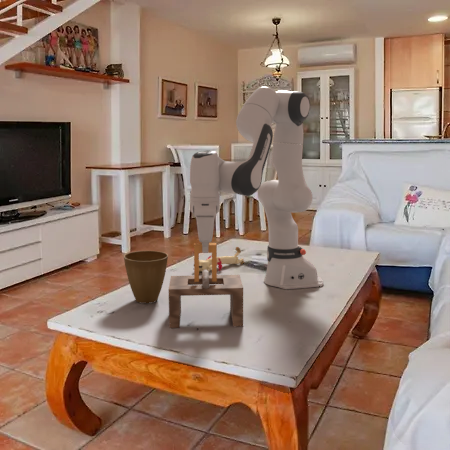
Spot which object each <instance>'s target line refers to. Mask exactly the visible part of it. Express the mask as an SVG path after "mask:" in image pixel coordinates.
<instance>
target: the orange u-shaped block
mask: <svg viewBox="0 0 450 450" xmlns="http://www.w3.org/2000/svg"><path fill="white" fill-rule="evenodd" d="M217 244H218V243H216V242H209V246H208V253H207V254H211V255H212V256H211V258H212V270H211V275H212V282H217V275H218V272H217V271H218V269H217V268H218V265H217V257H218V256H217V253H218V252H217V250H218V248H217ZM200 254H204V253H203V252H202V242H194V243H193V270H194V273H193V276H194V282H199V275H200V272H199V260H200V259H199V258H200Z"/></svg>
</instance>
